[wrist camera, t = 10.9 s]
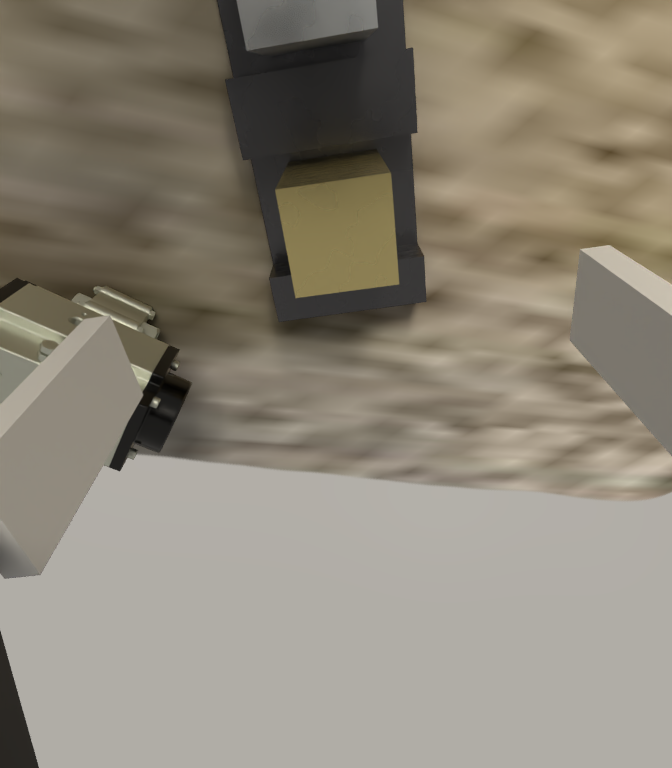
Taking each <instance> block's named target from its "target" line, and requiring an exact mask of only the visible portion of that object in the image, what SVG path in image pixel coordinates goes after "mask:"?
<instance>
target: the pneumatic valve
mask: <svg viewBox="0 0 672 768" xmlns="http://www.w3.org/2000/svg"><path fill="white" fill-rule="evenodd" d="M93 291H94V294H96V296H95V297H94V298H93V299H92V298H90V297H88V296H86V295H83V294H81V293H77V294H76V295H75V296H74V298H73V299H72V300H71V301H70V300H68V299H66V298H63V297H61V296H59V295H57V294H54V293H52V292H50V291H48V290H45V289H43V288H41V287H39V286H37V285H34V284H32V283H30V282H28V281H23V280H21V279H18V278H16V279H15V280H13V281H11V282H10V283H8V284H7V285H5V286H4V287H2V288H1V289H0V404H1V403H2V402H3V401H4V400H5V399H6V398H7V397H8V396H9V395H10V394H11V393H12V392H13V391H14V390H15V389H16V388H17V387H18V386H19V385H20V384H21V383H22V382H23V381H24V380H25V379H26V378H27V377H28V376H29V375H30V374H31V373H32V372H33V371H34V370H35V369H36V368H37V367H38V366H39V365H40V364H41V363H42V362H43V361H44V360H45V359H46V358H47V357H48V356H49V355H50V354H51V353H52V352H53V351H54V350H55V348H56V347H57V346H58V345H59V344H60V343H61V342H62V341H63V340H64V339H65V338H66V337H67V336H68V335H69V334H70V333H71V332H72V331H73V330H74V329H75V328H76V327H77V326H78V325H79V324H80V323H81V322H82V321H83V320H84V319H87V318H95V317H102V316H109V315H110V316H111V318H112V321H113V323H114V326H115V328H116V330H117V333H118V335H119V338H120V340H121V342H122V345H123V347H124V350H125V352H126V354H127V357H128V359H129V362H130V364H131V366H132V369H133V371H134V374H135V376H136V379H137V381H138V383H139V386H140V388H141V391H142V393H143V397H142V398H141V400H140V402H139V404H138V405H137V407H136V409H135V411H134V412H133V414H132V416H131V418H130V419H129V421H128V423H127V425H126V426H125V428H124V430H123V432H122V433H121V435H120V437H119V439H118V440H117V442H116V444H115V446H114V447H113V449H112V451H111V452H110V454H109V456H108V458H107V459H106V461H105V463H104V466H107V467H110V468H112V469H115V470H118V471H120V470H121V469H122V467H123V465H124V463H125V461H126V459H127V458H130V459H134V458H135V456H136V454H137V451H138V450H136V449H134V448H133V446H134V444H137V445H140V446H142V447H145V448H147V449H150V450H152V451H155V452H158V453H159V452H160V451H161V449H162V447H163V445H164V443H165V441H166V439H167V437H168V435H169V433H170V431H171V428H172V426H173V424H174V422H175V420H176V418H177V416H178V414H179V411H180V409H181V407H182V405H183V403H184V401H185V398H186V396H187V394H188V392H189V390H190V387H191V385H192V382H190V381H188V380H186V379H183V378H181V377H179V376H176V375H174V374H172V373H170V371H171V369H172V370H174V371H176V370H177V368H178V366H179V364H180V362H178V361H176V360H175V359H176V357H177V355H178V353H179V349H177V348H175V347H172V346H170V345H168V344H166V343H164V342H161V341H159V340H157V338H158V336H159V333H160V329H158V328H156V327H154V326H152V325H149V324H147V320H149V319H151V320H153V318H154V316H155V314H156V312H154V311H153V310H152V308H153V307H151V306H149V305H146V304H144V303H142V302H140V301H138V300H136V299H134V298H131V297H129V296H127V295H125V294H123V293H121V292H118V291H116V290H114V289H112V288H110V287H108V286H106V285H105V286H104V287H100V286H97V287H94V289H93Z"/></svg>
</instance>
